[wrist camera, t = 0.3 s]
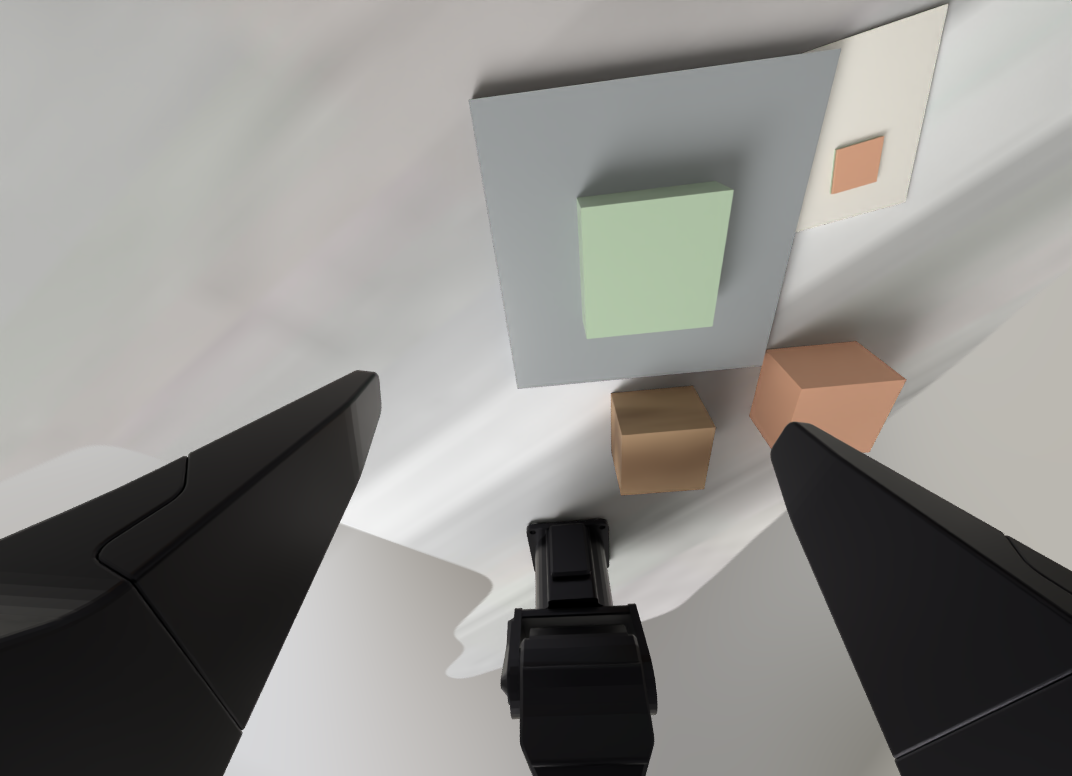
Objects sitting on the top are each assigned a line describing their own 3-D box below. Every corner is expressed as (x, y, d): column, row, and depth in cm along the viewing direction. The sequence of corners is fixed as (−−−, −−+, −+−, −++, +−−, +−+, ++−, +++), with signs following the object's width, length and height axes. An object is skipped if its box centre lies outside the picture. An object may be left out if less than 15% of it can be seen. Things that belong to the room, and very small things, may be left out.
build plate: (755, 358, 24) (778, 386, 22) (518, 381, 25) (516, 410, 22) (828, 50, 16) (878, 42, 13) (471, 99, 17) (461, 100, 14)
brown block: (684, 443, 28) (703, 489, 25) (610, 449, 28) (621, 495, 25) (692, 384, 25) (715, 427, 22) (610, 391, 25) (621, 435, 22)
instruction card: (903, 201, 19) (909, 203, 19) (788, 233, 20) (792, 235, 19) (945, 4, 15) (954, 2, 15) (800, 53, 16) (805, 52, 15)
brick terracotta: (827, 407, 26) (869, 452, 23) (748, 414, 27) (778, 459, 23) (854, 339, 23) (906, 379, 20) (764, 348, 24) (801, 388, 20)
